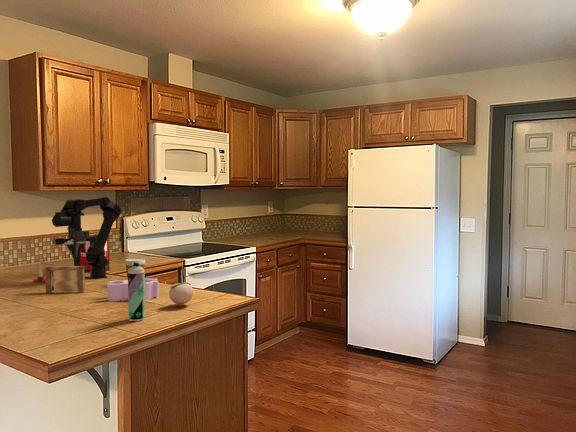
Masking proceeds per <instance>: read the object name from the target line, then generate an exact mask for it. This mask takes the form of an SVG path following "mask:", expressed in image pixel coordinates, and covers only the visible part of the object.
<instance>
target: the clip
mask: <svg viewBox="0 0 576 432" xmlns="http://www.w3.org/2000/svg"><path fill="white" fill-rule="evenodd" d="M158 279H159V278H150V277H149V278H147V277H145V301H147V300H146V299H148V300H152V299H158V298H157V297H159V298H160V296H159V295H160V293H159V292H160V291H159V289H160V286H159V285H160V283H159V280H158ZM106 288H107V289H106V291H107V292H106V293H107V297H106V298H107V299H106V301H108V302H120V300H121V301H128V279H124V280H123V279H122V280H110V281H107V284H106ZM154 297H156V298H154ZM151 298H152V299H151Z"/></svg>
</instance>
